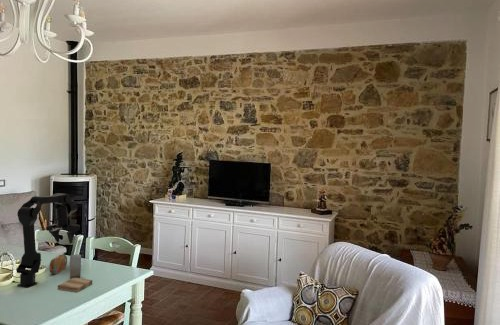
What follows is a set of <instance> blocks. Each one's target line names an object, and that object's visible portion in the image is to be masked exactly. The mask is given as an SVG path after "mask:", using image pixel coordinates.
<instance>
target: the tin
mask: <svg viewBox="0 0 500 325" xmlns="http://www.w3.org/2000/svg"><path fill="white" fill-rule="evenodd" d="M67 264H68V257H67V255H66V254H59V255H57V256H55V257H54V258H52V259H51V260H50V262H49V273H50V274H52V275H57V274H59V273H61V272H62V271H64V270H65V269H66V267H67Z"/></svg>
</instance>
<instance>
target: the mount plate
mask: <svg viewBox="0 0 500 325" xmlns="http://www.w3.org/2000/svg"><path fill="white" fill-rule="evenodd" d="M91 285H93V279H86V278H81V277H80V278H72V279H70V278H69V279H68V280H66V281H64V282H62V283H60V284H58V285H57V290H58V291H59V290H60V291H66V292H72V293H78V292H81V291H82V290H84V289H86V288H87V287H90V286H91Z"/></svg>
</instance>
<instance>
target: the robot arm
mask: <svg viewBox="0 0 500 325" xmlns="http://www.w3.org/2000/svg"><path fill="white" fill-rule="evenodd" d="M44 204H55V205H54V206H53V207H52V209H53V210H55V212H56V213H55V214H56V217H55V218H54V220H55V221H56V223H53V224H49V225H47V226H46V231H47V232H48V233H50V234H51V236H52V237H53V239H54V240H55V241H56V243H60V231H61V230H66V235H67V240H68V241H69V242H68V243H69V244H72V243H73V240H74V237H75V234H77V232H78V231H79V230H81V228H80V227H81V226H80V224H77V219H74V218H71V217H70V216H71V215H70V216H69V214H71V213H74V212H77V210H78V209H79V208H78V205H77V203H76V201H75V200H73V199H71V197H70V195H69V194H68V193H59V192H58V193H57V192H56V193H53V194H52V195H39V196H35V195H33V196H32V197H31V198H30V199H29V200H28V201H26V202H24V203H23V204H22V205H21V206H20V208H19V209H18V210H17V218H18V221H19V223H20V224H21V226H22V233H23V235H22V236H23V247H24V251H23V252H24V253H23V254H22V256H21V262H20V263H19V265H18V266H17V267H16V274H19V275H20V276H19V278H20V279H19V283H18V284H17V287H22V288H30V287H32V286H34V285H36V284H38V281H36V274H37V273H39V272H40V267H41V262H42V257H41V256H42V254H41V252H37V250H36V249H37V246H36V234H35V233H36V231H35V223H36V221H37V220H38V215H39V213H40V212H41V210H42V205H44ZM34 205H36V206H35V207H33V206H34Z"/></svg>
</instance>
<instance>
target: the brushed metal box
mask: <svg viewBox="0 0 500 325" xmlns="http://www.w3.org/2000/svg"><path fill="white" fill-rule="evenodd" d="M81 272H82V255H81V253H80V254H70V256H69V280H70V279H72V278H81V274H82V273H81Z"/></svg>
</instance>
